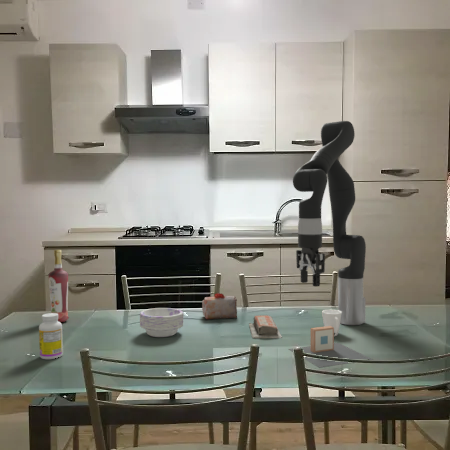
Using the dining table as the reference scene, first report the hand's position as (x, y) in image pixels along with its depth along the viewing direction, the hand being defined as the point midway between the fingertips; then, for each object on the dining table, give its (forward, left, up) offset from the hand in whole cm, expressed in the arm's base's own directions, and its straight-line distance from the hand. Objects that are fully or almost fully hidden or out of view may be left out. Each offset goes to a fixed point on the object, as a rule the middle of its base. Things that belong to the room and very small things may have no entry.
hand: (310, 284), depth 158 cm
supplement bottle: (+78, -20, -20) cm, 83 cm away
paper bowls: (+41, -32, -20) cm, 56 cm away
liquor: (+74, -64, -20) cm, 100 cm away
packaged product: (+7, -20, -21) cm, 29 cm away
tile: (0, +7, -19) cm, 21 cm away
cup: (-13, -7, -20) cm, 25 cm away
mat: (0, +11, -20) cm, 23 cm away
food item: (+14, -47, -20) cm, 53 cm away
